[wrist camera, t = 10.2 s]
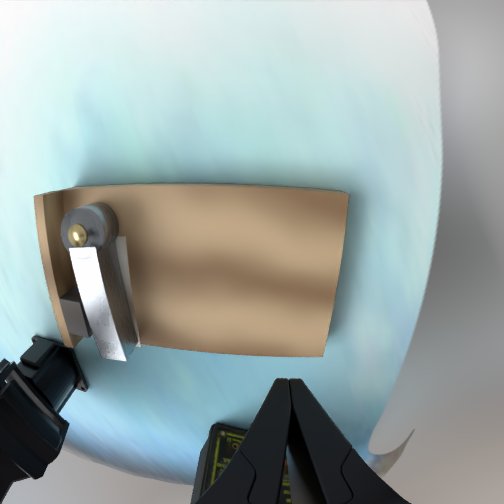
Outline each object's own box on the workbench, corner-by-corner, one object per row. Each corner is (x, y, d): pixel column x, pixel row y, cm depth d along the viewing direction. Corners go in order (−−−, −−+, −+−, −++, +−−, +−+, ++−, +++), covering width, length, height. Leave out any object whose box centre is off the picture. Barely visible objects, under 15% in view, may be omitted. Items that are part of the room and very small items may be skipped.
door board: (318, 344, 22) (327, 379, 18) (89, 322, 22) (65, 348, 18) (340, 190, 18) (361, 199, 14) (68, 187, 18) (33, 195, 14)
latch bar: (78, 204, 16) (54, 212, 14) (115, 199, 16) (92, 206, 14) (110, 338, 20) (94, 359, 17) (144, 342, 20) (131, 364, 17)
